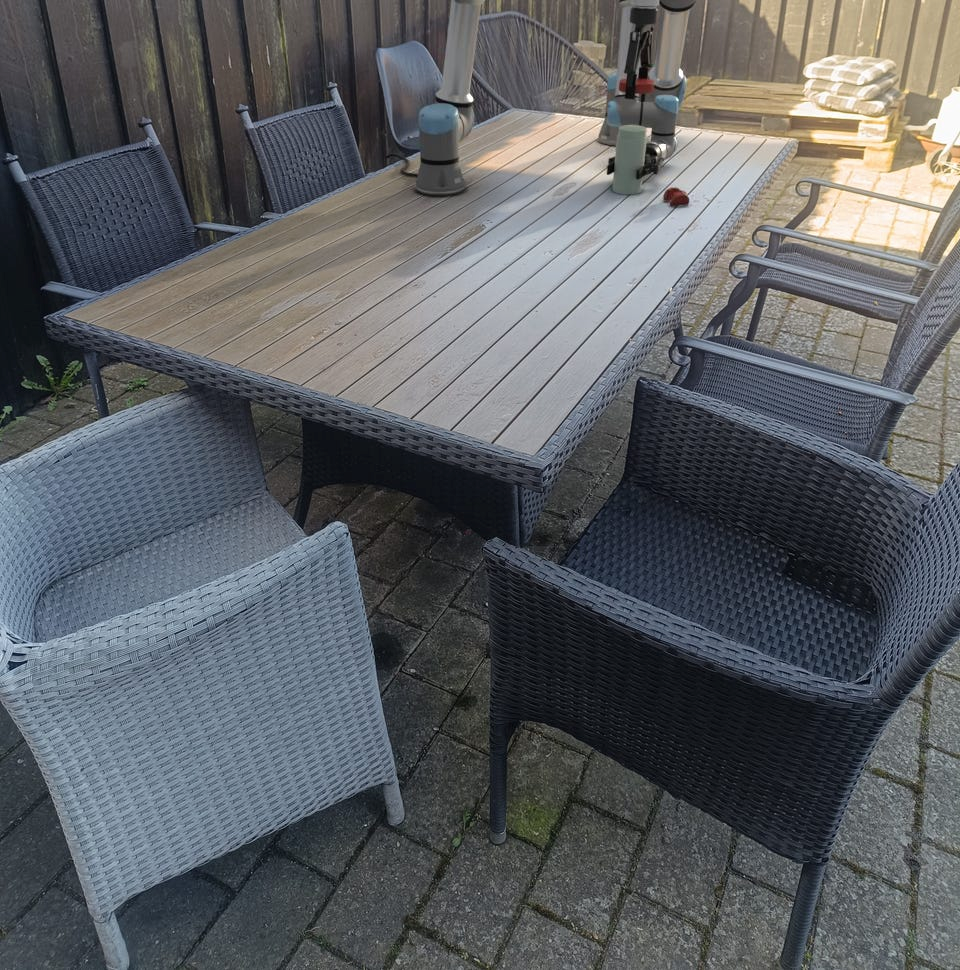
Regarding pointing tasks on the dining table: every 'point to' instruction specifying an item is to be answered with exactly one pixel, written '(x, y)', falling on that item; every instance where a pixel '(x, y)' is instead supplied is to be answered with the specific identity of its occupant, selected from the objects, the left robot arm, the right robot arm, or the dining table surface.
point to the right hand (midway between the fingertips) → (622, 172)
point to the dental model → (676, 197)
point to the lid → (639, 85)
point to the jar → (629, 159)
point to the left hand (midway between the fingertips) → (635, 95)
